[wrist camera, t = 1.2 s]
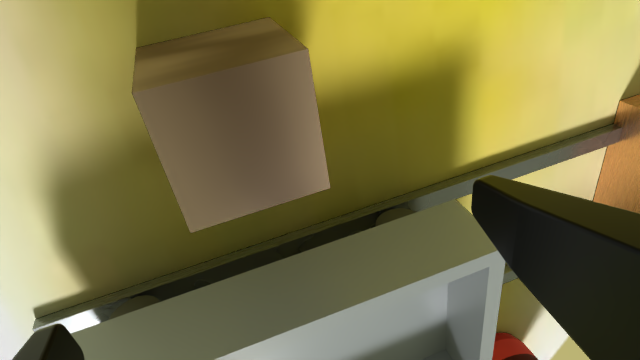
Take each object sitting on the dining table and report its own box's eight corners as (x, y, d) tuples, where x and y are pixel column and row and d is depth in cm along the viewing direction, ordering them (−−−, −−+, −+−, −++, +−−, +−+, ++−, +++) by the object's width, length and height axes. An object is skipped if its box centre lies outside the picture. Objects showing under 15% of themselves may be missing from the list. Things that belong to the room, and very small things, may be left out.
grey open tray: (157, 435, 25) (159, 545, 21) (63, 307, 19) (36, 427, 14) (435, 321, 29) (487, 395, 24) (436, 181, 22) (507, 246, 18)
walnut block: (181, 163, 18) (190, 233, 14) (136, 47, 15) (132, 93, 11) (292, 131, 19) (330, 187, 15) (268, 16, 16) (308, 48, 12)
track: (133, 439, 26) (130, 505, 23) (17, 297, 19) (-7, 367, 16) (598, 250, 33) (642, 282, 30) (646, 92, 25) (711, 114, 23)
